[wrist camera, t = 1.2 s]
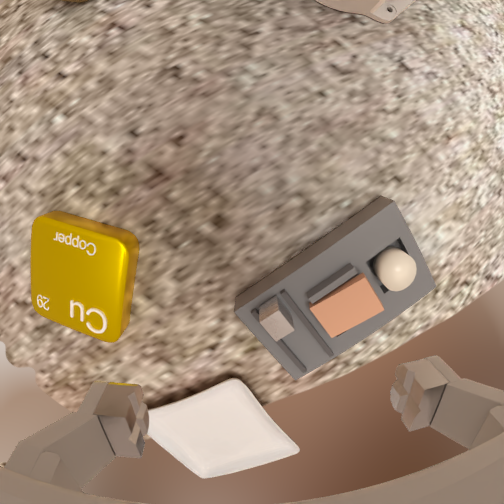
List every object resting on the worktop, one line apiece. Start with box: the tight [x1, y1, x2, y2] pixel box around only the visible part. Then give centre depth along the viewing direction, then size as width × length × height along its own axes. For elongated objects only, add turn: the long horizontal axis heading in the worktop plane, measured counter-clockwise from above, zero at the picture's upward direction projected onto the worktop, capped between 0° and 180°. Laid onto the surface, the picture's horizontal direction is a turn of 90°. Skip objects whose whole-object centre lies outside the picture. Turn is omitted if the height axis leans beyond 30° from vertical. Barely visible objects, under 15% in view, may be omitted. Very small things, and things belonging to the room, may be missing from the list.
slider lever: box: [259, 295, 295, 341], centre depth 34 cm, size 2×3×4 cm
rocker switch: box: [309, 273, 384, 338], centre depth 34 cm, size 7×5×1 cm
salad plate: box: [147, 378, 300, 478], centre depth 46 cm, size 21×21×3 cm
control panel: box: [234, 196, 436, 380], centre depth 37 cm, size 22×13×6 cm, turn 127°
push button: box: [373, 246, 417, 291], centre depth 34 cm, size 4×4×3 cm
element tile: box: [31, 211, 139, 342], centre depth 38 cm, size 15×15×5 cm
